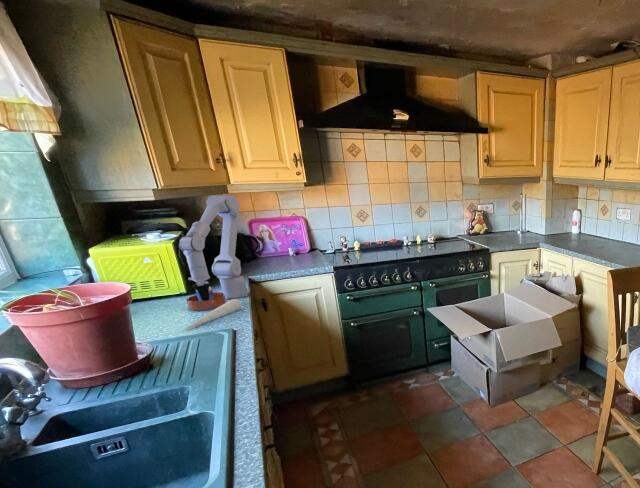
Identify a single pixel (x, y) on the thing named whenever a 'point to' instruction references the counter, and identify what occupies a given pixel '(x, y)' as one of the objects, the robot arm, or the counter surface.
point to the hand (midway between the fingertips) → (206, 298)
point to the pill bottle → (209, 293)
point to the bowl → (206, 302)
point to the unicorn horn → (218, 312)
